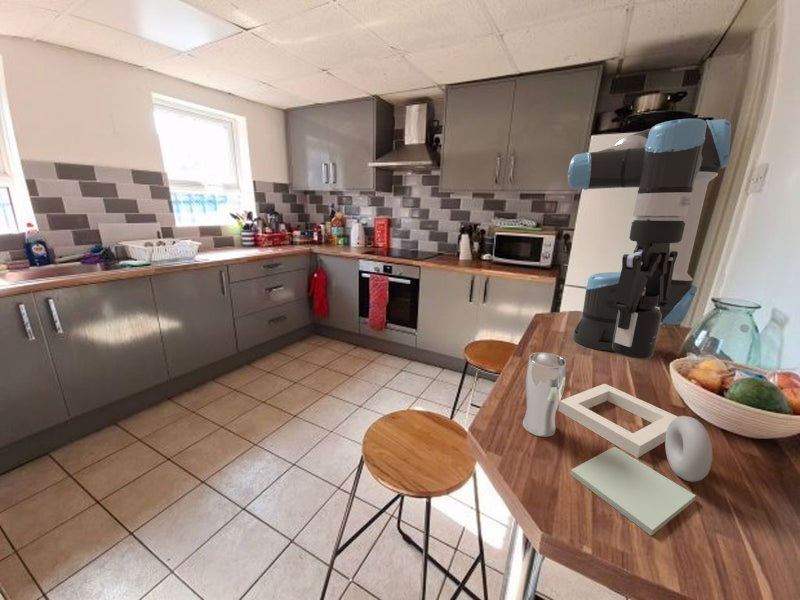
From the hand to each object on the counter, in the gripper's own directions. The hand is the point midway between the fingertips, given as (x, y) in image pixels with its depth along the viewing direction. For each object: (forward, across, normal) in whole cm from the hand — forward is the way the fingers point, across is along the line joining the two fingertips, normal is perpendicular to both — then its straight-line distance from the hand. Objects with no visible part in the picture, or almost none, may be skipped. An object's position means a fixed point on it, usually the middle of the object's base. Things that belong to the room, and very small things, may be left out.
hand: (633, 340), depth 64 cm
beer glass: (+18, -17, +6) cm, 25 cm away
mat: (+18, -16, -11) cm, 26 cm away
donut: (+18, -6, -13) cm, 23 cm away
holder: (+18, 0, 0) cm, 18 cm away
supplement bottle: (+3, 0, 0) cm, 3 cm away
